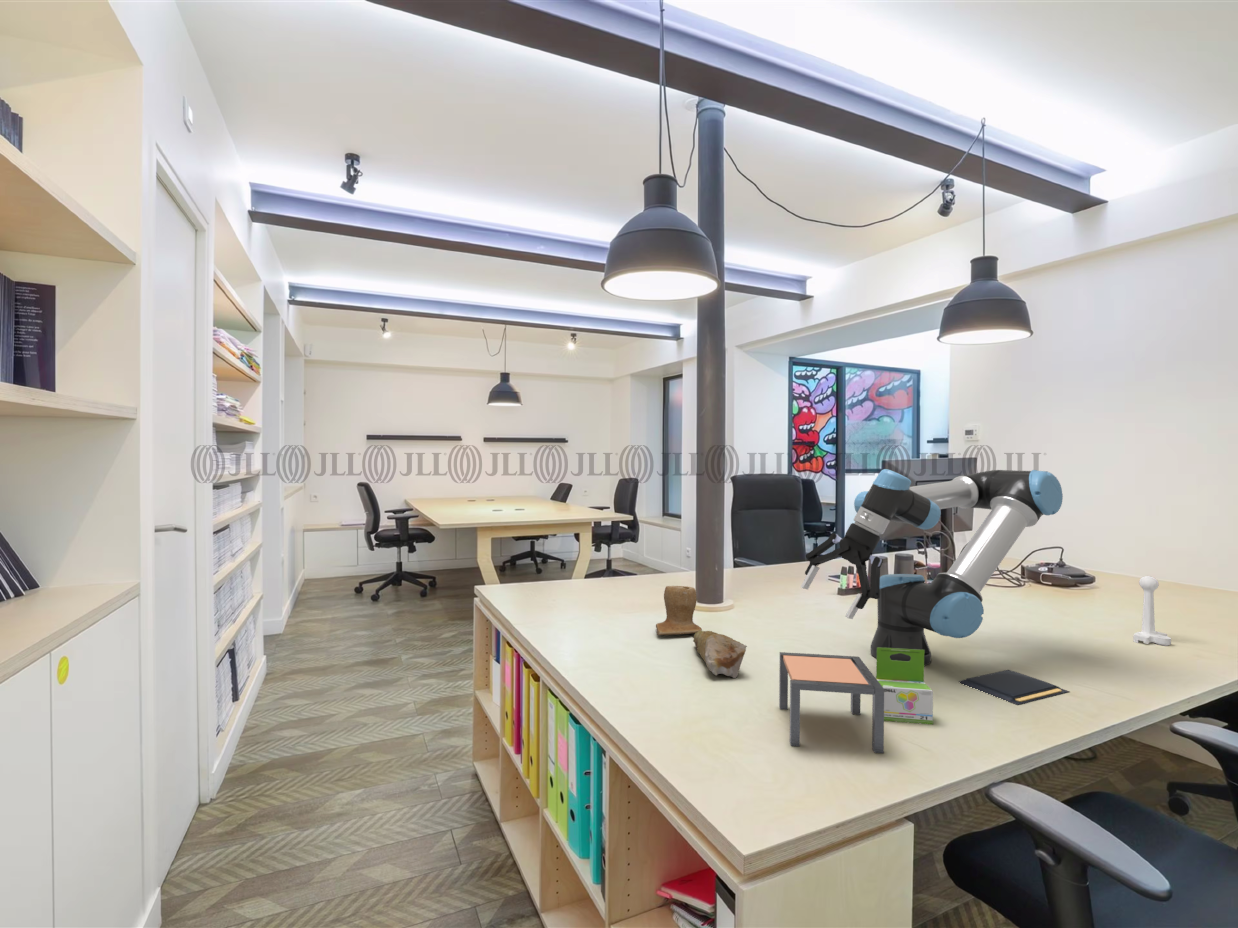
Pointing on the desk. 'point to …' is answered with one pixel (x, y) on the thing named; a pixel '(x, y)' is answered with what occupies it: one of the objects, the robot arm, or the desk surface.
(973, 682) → the wallet
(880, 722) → the stand
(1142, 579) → the joystick
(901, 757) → the desk surface
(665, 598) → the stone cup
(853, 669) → the trapdoor
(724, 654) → the mineral
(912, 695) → the ink box
